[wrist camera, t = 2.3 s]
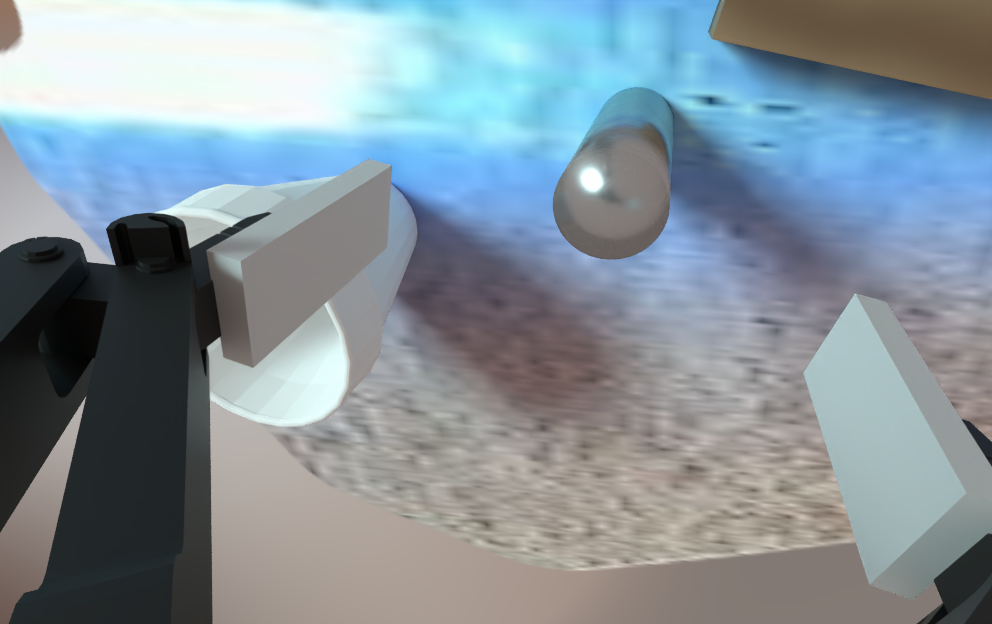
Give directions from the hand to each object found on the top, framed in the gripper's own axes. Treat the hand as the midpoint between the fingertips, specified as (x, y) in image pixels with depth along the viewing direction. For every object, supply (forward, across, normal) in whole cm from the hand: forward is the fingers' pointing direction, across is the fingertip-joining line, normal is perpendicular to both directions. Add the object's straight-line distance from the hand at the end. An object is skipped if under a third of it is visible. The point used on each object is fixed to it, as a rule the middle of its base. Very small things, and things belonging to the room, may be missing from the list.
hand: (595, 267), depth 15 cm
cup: (+16, -15, -10) cm, 24 cm away
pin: (+16, 0, 0) cm, 16 cm away
